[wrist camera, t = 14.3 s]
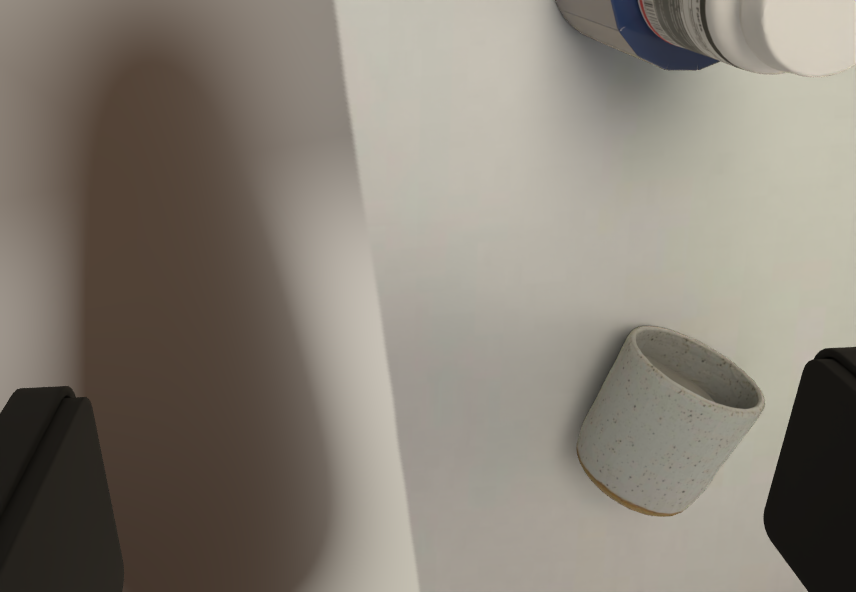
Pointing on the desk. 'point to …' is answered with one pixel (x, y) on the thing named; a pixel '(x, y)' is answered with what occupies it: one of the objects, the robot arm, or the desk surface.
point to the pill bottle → (761, 32)
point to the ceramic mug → (665, 421)
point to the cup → (628, 33)
